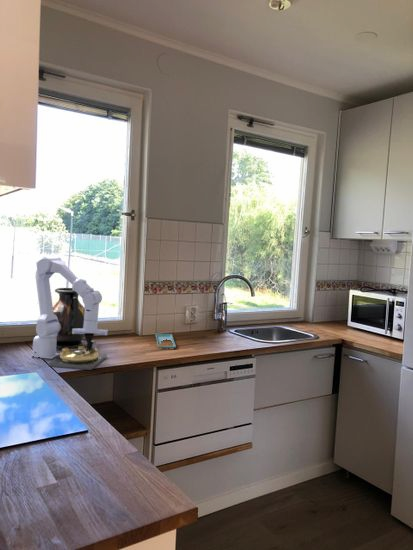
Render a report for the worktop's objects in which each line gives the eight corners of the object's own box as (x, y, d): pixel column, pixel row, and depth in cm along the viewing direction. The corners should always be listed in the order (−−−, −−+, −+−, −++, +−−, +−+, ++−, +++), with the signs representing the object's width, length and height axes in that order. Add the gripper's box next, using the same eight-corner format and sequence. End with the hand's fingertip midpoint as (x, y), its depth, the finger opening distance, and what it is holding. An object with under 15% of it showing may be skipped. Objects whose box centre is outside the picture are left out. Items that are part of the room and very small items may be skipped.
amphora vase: (97, 349, 215) (99, 291, 213) (53, 354, 201) (55, 292, 199) (78, 339, 231) (80, 286, 229) (36, 343, 218) (38, 287, 216)
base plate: (48, 366, 183) (48, 362, 183) (68, 354, 203) (68, 350, 203) (91, 369, 181) (91, 365, 181) (106, 357, 201) (106, 353, 201)
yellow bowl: (90, 364, 183) (91, 346, 183) (53, 360, 185) (53, 343, 184) (103, 354, 199) (104, 338, 199) (68, 351, 201) (69, 335, 200)
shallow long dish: (176, 350, 223) (176, 345, 223) (157, 350, 222) (157, 345, 222) (171, 338, 249) (171, 334, 249) (155, 338, 247) (155, 333, 247)
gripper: (108, 318, 195) (105, 348, 196) (73, 316, 192) (71, 347, 193) (108, 321, 188) (105, 353, 189) (72, 320, 185) (70, 352, 186)
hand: (88, 350), depth 191 cm, fingers closed, pressing on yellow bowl
